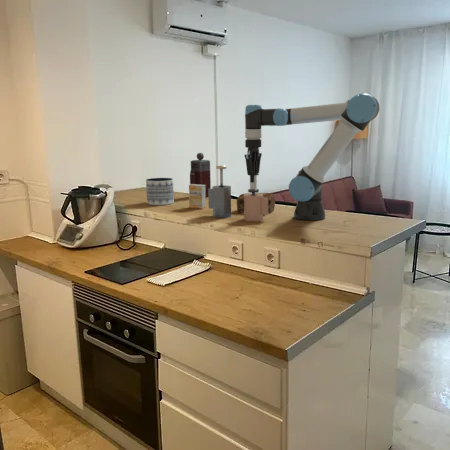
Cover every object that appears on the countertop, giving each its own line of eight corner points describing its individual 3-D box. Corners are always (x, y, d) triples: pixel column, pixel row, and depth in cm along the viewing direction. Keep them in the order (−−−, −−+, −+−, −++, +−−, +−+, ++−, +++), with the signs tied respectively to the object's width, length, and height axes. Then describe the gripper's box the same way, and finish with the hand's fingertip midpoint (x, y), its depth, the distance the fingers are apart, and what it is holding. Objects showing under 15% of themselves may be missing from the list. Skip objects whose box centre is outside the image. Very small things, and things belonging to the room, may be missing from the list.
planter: (179, 202, 280) (178, 178, 277) (162, 206, 267) (161, 181, 264) (159, 200, 288) (158, 177, 285) (141, 204, 275) (140, 180, 272)
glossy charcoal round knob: (251, 212, 229) (251, 188, 226) (260, 213, 226) (260, 189, 224) (246, 213, 224) (246, 189, 222) (255, 214, 222) (255, 190, 219)
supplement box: (189, 208, 259) (188, 184, 256) (192, 206, 263) (192, 183, 261) (202, 209, 256) (201, 185, 253) (206, 207, 260) (205, 184, 258)
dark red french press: (188, 197, 298) (187, 153, 292) (201, 195, 306) (200, 152, 300) (198, 198, 292) (197, 153, 286) (211, 196, 300) (210, 152, 295)
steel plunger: (220, 190, 236) (219, 165, 233) (228, 191, 233) (228, 165, 231) (214, 191, 232) (214, 166, 229) (223, 192, 229) (222, 166, 227)
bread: (275, 210, 249) (275, 192, 247) (270, 214, 239) (270, 194, 237) (242, 209, 255) (242, 190, 253) (235, 212, 245) (235, 193, 243)
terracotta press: (249, 216, 232) (249, 193, 229) (271, 219, 226) (271, 194, 223) (240, 220, 224) (240, 195, 222) (263, 222, 218) (263, 197, 216)
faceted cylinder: (214, 213, 243) (213, 184, 240) (234, 215, 237) (234, 186, 233) (204, 216, 235) (203, 186, 232) (225, 218, 229) (224, 188, 226)
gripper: (252, 138, 225) (252, 186, 230) (239, 139, 214) (239, 190, 219) (266, 138, 221) (266, 187, 226) (253, 139, 210) (253, 191, 215)
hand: (253, 188), depth 223 cm, fingers closed
